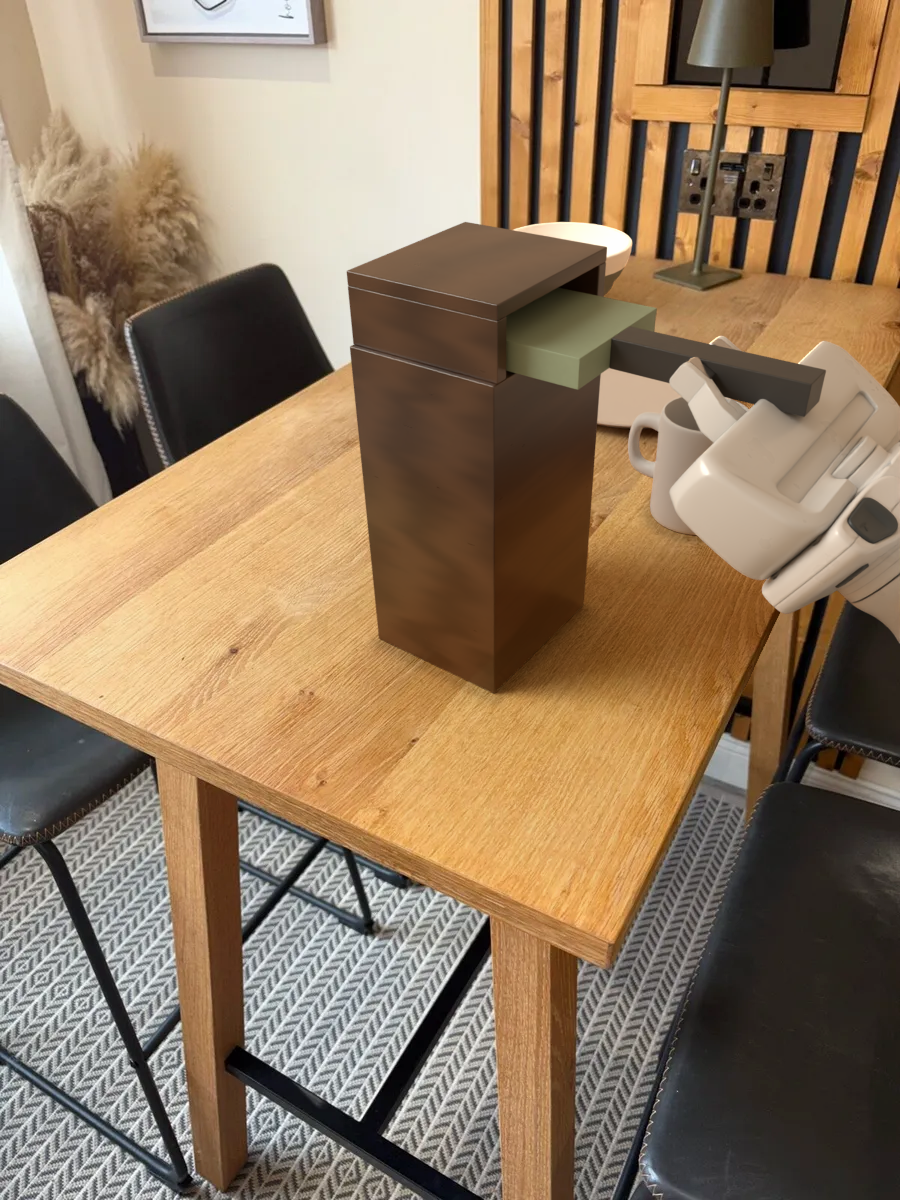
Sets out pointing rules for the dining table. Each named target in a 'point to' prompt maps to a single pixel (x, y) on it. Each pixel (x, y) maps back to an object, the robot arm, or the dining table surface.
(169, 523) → the dining table surface
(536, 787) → the dining table surface
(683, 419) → the mug
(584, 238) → the bowl
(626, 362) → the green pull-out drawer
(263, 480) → the dining table surface
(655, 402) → the plate
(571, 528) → the stand
